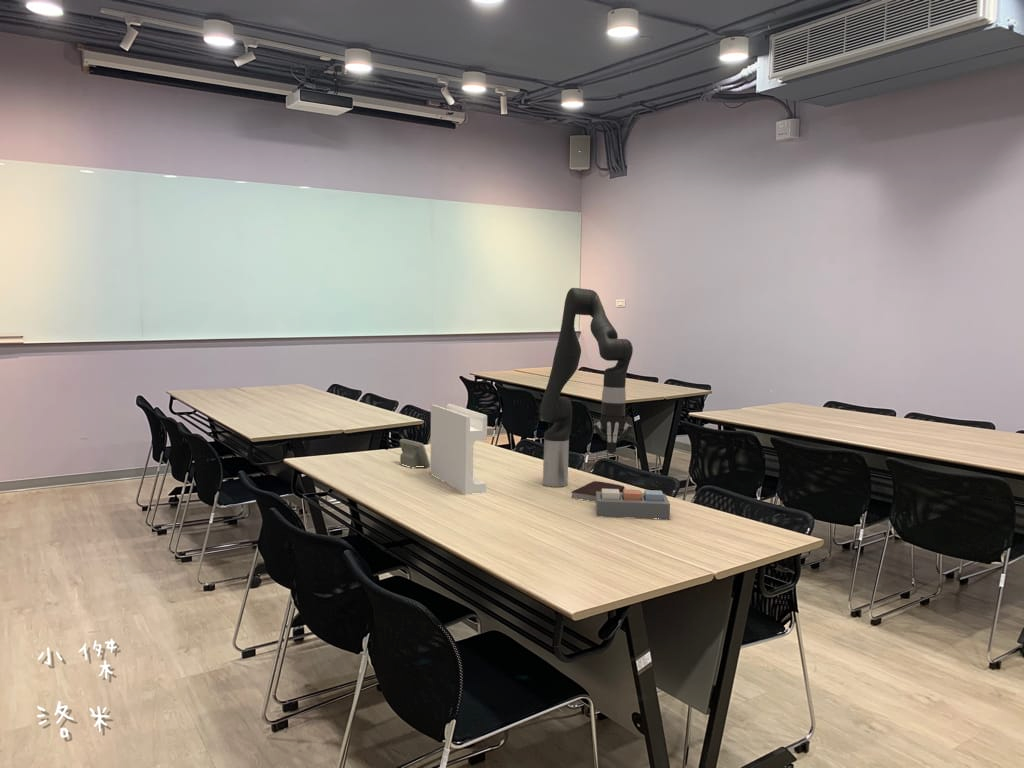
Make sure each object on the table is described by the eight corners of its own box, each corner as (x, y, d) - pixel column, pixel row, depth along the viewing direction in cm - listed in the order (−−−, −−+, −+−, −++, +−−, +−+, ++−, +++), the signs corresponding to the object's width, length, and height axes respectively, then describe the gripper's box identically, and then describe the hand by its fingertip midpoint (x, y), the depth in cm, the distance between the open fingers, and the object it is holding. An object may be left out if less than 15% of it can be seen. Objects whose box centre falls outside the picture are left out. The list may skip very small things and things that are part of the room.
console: (596, 516, 235) (597, 501, 234) (595, 505, 248) (596, 491, 247) (669, 519, 233) (670, 504, 232) (664, 508, 246) (665, 494, 245)
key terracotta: (623, 506, 238) (624, 493, 237) (622, 502, 243) (623, 489, 243) (641, 507, 237) (641, 494, 237) (639, 502, 243) (640, 489, 242)
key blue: (645, 507, 237) (645, 494, 236) (643, 503, 242) (644, 490, 242) (663, 508, 236) (663, 494, 236) (661, 503, 242) (661, 490, 242)
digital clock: (431, 468, 302) (431, 442, 301) (411, 470, 297) (411, 444, 296) (415, 461, 315) (415, 436, 314) (396, 463, 311) (396, 438, 310)
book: (624, 493, 267) (625, 485, 267) (602, 505, 251) (603, 495, 250) (593, 489, 274) (593, 480, 273) (570, 499, 257) (570, 490, 257)
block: (430, 474, 290) (430, 404, 288) (449, 472, 294) (450, 403, 291) (465, 495, 259) (466, 416, 256) (486, 492, 263) (487, 415, 260)
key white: (601, 505, 238) (602, 492, 238) (601, 501, 244) (601, 488, 243) (619, 506, 238) (619, 493, 237) (618, 502, 243) (618, 489, 243)
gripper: (633, 399, 240) (631, 452, 242) (593, 398, 241) (590, 450, 243) (635, 403, 233) (632, 456, 235) (593, 401, 234) (591, 454, 236)
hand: (611, 453), depth 239 cm, fingers closed
